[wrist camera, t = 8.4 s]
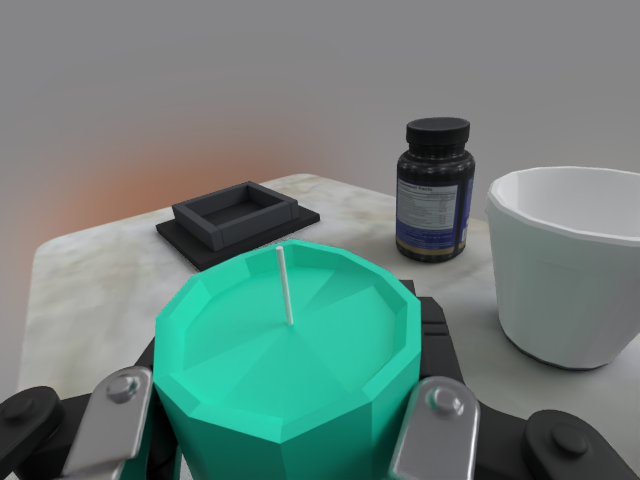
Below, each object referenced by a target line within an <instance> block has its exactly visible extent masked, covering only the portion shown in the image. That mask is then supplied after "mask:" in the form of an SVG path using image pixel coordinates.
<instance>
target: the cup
mask: <svg viewBox="0 0 640 480" xmlns="http://www.w3.org/2000/svg"><path fill="white" fill-rule="evenodd" d="M485 212H486V214H487V217H488V224H489V232H490V241H491V250H492V259H493V267H494V276H495V285H496V294H497V303H498V311H499V320H500V323H501V325H502V328H503V330H504V332H505V334H506V336H507V338H508V339H509V340H510V341H511V342H512V343H513V344H514V345H515V346H516V347H517V348H518V349H519V350H520V351H522V352H524V353H525V354H527V355H529V356H531V357H533V358H535V359H536V360H538V361H540V362H542V363H546V364H549V365H553V366H556V367H559V368H563V369H569V370H591V369H594V368H597V367H600V366H603V365H606V364H608V363H610V362H611V361H612V360H613V359H614V358H615V357H616V356H617V355H618V354H619V353H620V352H621V351H622V350H623V349H624V348H625V347H626V346H627V345H628V344H629V343H630V342H631V341H632V340H633V339H634V338H635V337H636V335H637V334H638V333H639V332H640V174H638V173H632V172H626V171H620V170H613V169H605V168H590V167H574V166H564V167H537V168H532V169H526V170H521V171H516V172H511V173H509V174H507V175H505V176H503V177H501V178H499V179H497V180H495V181H494V182H492V184H491V186H490V189H489V191H488V194H487V199H486V208H485Z"/></svg>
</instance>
